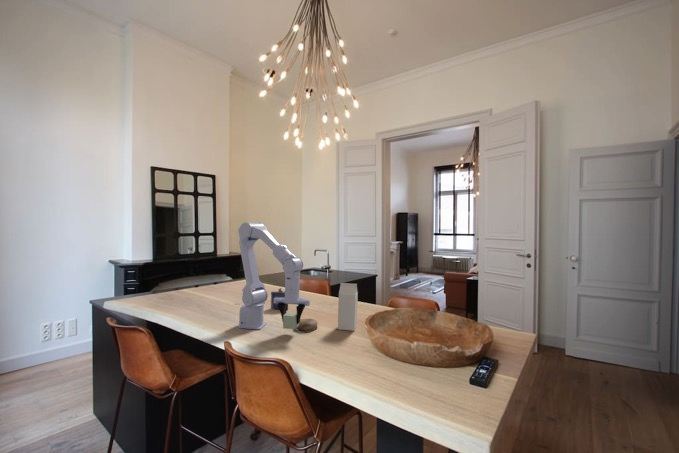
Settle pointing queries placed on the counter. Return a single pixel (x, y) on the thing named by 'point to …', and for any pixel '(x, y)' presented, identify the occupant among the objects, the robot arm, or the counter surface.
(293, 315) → the cube
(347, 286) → the milk carton
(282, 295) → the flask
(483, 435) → the counter surface
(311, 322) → the base
